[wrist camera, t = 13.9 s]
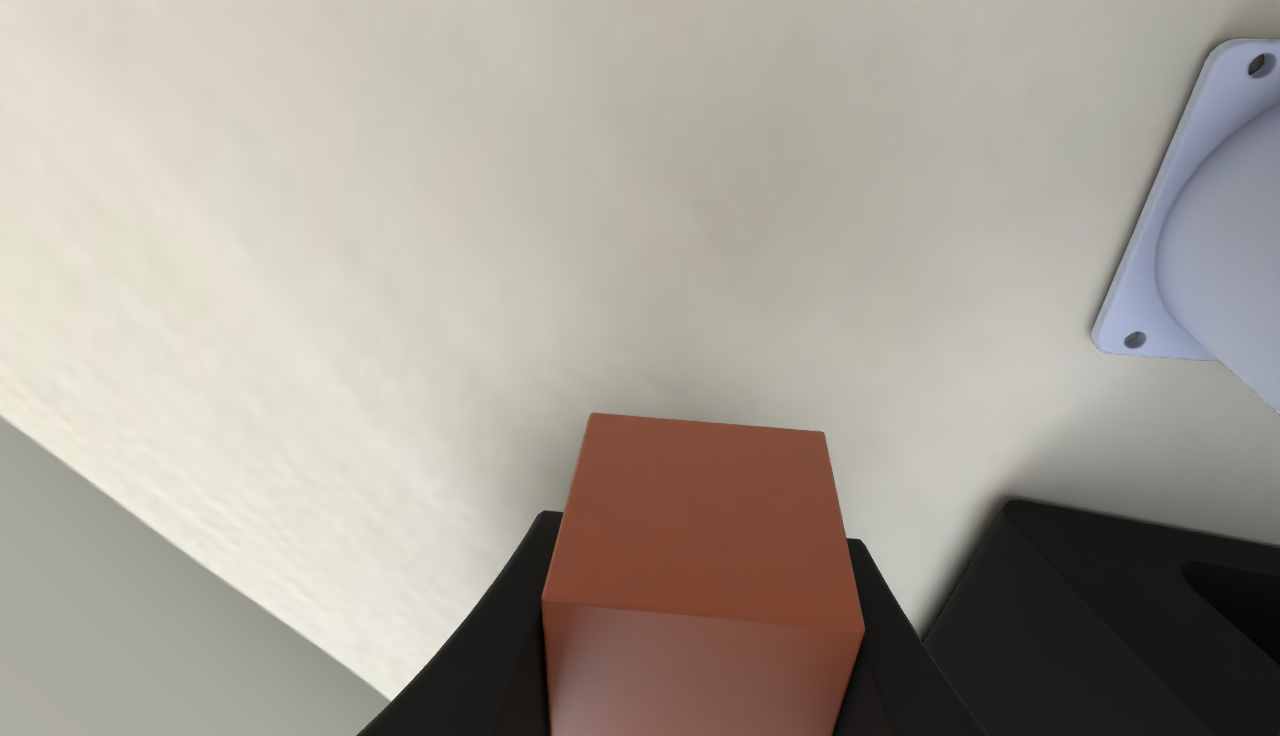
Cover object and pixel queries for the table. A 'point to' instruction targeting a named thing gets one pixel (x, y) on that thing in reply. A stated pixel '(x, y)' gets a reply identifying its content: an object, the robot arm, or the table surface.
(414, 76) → the table surface
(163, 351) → the table surface
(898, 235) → the table surface
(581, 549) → the block
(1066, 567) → the device stand
